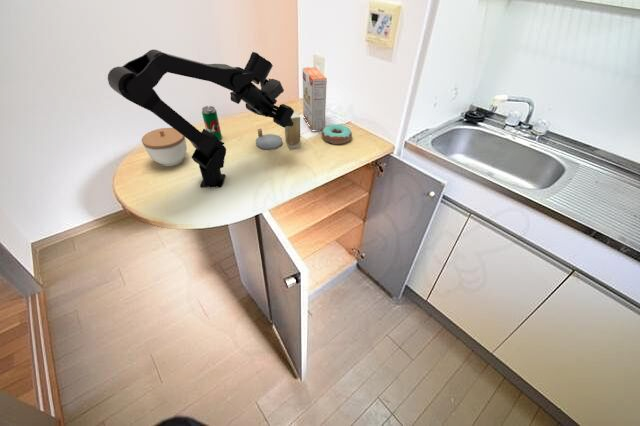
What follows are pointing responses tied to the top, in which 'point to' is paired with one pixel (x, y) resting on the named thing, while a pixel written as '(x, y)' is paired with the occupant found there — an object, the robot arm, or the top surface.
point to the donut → (336, 134)
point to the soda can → (211, 121)
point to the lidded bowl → (165, 146)
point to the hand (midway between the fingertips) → (283, 120)
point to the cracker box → (314, 97)
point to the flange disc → (268, 141)
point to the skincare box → (293, 132)
